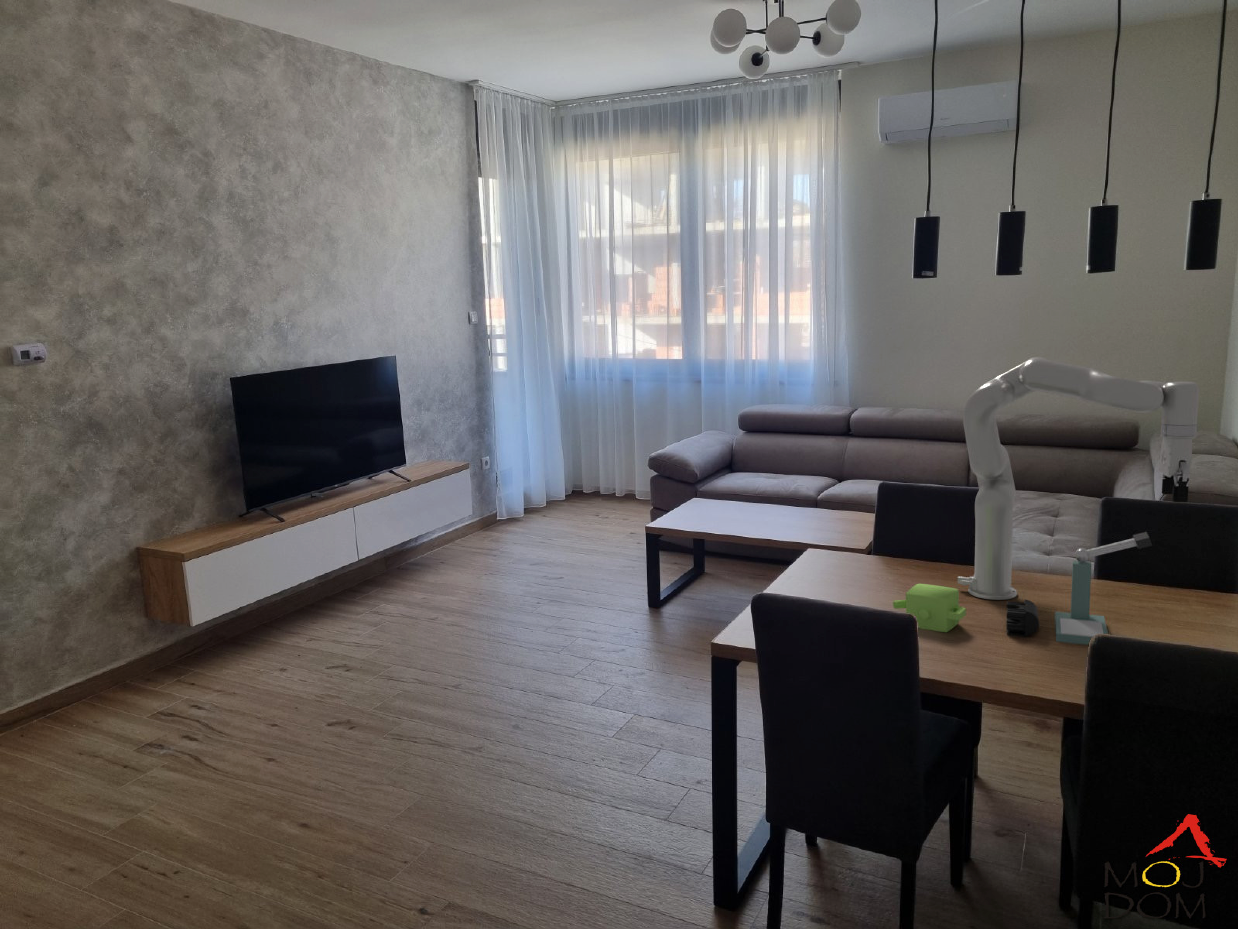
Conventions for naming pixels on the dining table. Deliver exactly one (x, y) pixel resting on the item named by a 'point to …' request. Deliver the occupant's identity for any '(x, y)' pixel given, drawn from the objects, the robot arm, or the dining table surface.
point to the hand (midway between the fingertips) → (1174, 497)
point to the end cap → (1022, 618)
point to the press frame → (1079, 610)
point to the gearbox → (933, 606)
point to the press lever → (1114, 547)
